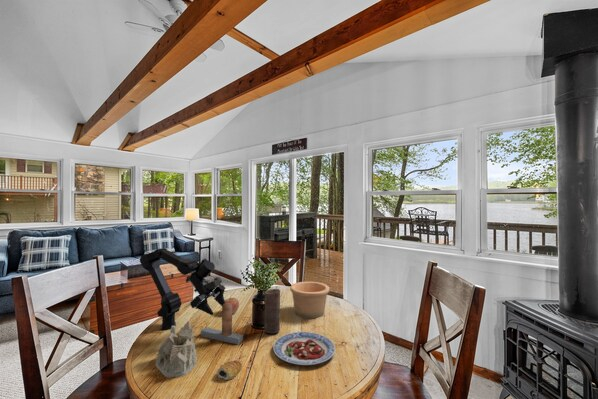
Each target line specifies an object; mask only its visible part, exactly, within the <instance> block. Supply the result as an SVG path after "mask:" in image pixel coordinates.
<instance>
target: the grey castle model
mask: <svg viewBox="0 0 598 399" xmlns="http://www.w3.org/2000/svg"><path fill="white" fill-rule="evenodd" d="M176 326H177V325H176ZM176 326H172V327H171V329H170V334H169V335H168V337H167V338H166V339H164V341H163V342H162V343H161V344H160V346H159V348H158V349H157V352H158V355H157V357H156V360H155V367H156V368H157V369H158V370H159V372H160V373H161V374H162V375H163V376H164V377H165V378H170V379H171V378H182V377H184V376H186V375H188V374H189V373H190V372H191V371H193V369H194V368H195V367H196V366H197V365H198V353H197V350H196V344H195V343H194V341H195V338H194V335H195V334H194V327H191V321H190V320H187V321H186V323H185V324H184V326H183V327H180V330H179V336H178V335H177V328H176Z"/></svg>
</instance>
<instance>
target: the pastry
mask: <svg viewBox="0 0 598 399" xmlns="http://www.w3.org/2000/svg"><path fill="white" fill-rule="evenodd" d="M242 366H243V364H242V362H241V361H239V360H236V359H235V360H231V361H227V362H224V363H223V364H221V365H219V369H218V370H217V371H216V376H217V377H218V378H219V379H222V378H223V380H226V381H228V380H232V379H234V378H235V377H236V376H238V375H239V373H240V372H241V370H242Z"/></svg>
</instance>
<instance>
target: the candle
mask: <svg viewBox="0 0 598 399" xmlns="http://www.w3.org/2000/svg"><path fill="white" fill-rule="evenodd" d="M280 314H281V290H280V289H279V288H269V289H266V291H265V292H264V326H263V327H264V328H263V329H264V332H265V333H267V334H276V333H279V332H280V329H281V315H280Z"/></svg>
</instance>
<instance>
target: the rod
mask: <svg viewBox="0 0 598 399" xmlns="http://www.w3.org/2000/svg"><path fill="white" fill-rule="evenodd" d="M221 307H222V308H221V331H222V336H230V335H231V334H232V333H233V314H232V304H231V303H225V304H223V305H222V306H221Z"/></svg>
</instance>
